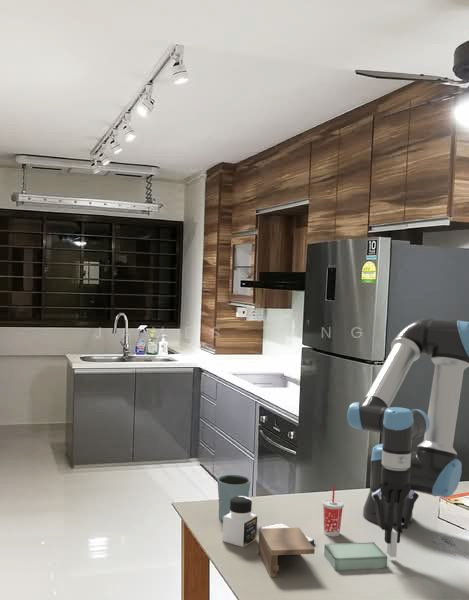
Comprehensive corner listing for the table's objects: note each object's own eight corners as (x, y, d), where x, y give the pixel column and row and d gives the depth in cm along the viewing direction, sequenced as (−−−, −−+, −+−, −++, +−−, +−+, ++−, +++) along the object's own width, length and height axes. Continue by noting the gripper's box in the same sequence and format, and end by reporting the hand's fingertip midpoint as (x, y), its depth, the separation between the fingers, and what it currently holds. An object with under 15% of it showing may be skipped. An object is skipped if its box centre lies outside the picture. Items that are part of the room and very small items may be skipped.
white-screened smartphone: (257, 532, 191) (291, 552, 178) (257, 527, 191) (291, 546, 178) (281, 527, 196) (316, 545, 183) (281, 522, 196) (316, 540, 183)
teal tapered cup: (226, 526, 193) (227, 486, 193) (209, 515, 202) (211, 476, 202) (255, 521, 199) (256, 481, 198) (238, 510, 207) (239, 472, 207)
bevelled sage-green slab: (373, 553, 178) (374, 542, 178) (386, 567, 170) (387, 556, 169) (324, 555, 176) (324, 544, 176) (335, 570, 167) (335, 558, 167)
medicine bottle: (243, 547, 179) (245, 504, 178) (221, 541, 182) (223, 498, 182) (256, 539, 185) (258, 497, 184) (235, 533, 188) (237, 492, 188)
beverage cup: (333, 528, 196) (336, 481, 195) (346, 535, 190) (348, 487, 190) (317, 531, 193) (319, 483, 192) (329, 538, 187) (331, 490, 187)
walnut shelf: (298, 552, 177) (299, 527, 177) (313, 575, 163) (314, 549, 163) (258, 553, 175) (259, 528, 175) (270, 577, 161) (271, 550, 161)
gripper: (378, 471, 169) (373, 561, 169) (425, 470, 171) (420, 559, 172) (367, 463, 176) (363, 549, 177) (412, 462, 179) (408, 548, 179)
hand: (391, 554), depth 174 cm, fingers closed
